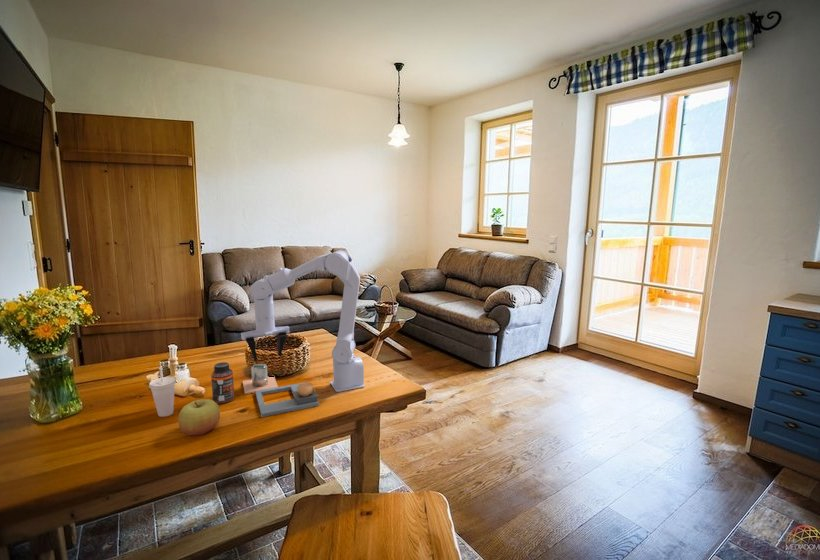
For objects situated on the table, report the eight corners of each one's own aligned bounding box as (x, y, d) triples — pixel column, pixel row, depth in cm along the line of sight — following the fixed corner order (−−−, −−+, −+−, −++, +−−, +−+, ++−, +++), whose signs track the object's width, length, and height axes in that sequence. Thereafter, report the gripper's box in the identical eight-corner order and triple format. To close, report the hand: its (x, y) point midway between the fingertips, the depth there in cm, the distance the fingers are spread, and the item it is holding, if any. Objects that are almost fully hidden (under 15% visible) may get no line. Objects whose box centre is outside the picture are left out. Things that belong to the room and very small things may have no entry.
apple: (179, 426, 108) (176, 398, 107) (219, 417, 113) (217, 390, 111) (179, 444, 100) (176, 414, 98) (223, 434, 104) (220, 405, 103)
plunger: (311, 392, 124) (310, 381, 124) (314, 398, 121) (314, 387, 120) (296, 395, 122) (296, 384, 122) (299, 401, 119) (299, 390, 118)
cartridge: (269, 380, 135) (268, 362, 134) (265, 387, 130) (263, 367, 129) (255, 380, 135) (254, 362, 134) (250, 387, 130) (248, 367, 129)
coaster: (273, 377, 140) (273, 375, 139) (278, 388, 131) (278, 387, 131) (242, 382, 135) (242, 380, 135) (245, 394, 126) (244, 392, 126)
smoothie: (151, 421, 110) (145, 372, 108) (153, 411, 116) (148, 364, 114) (178, 416, 113) (173, 368, 111) (179, 406, 119) (174, 360, 116)
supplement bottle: (226, 405, 119) (223, 369, 117) (208, 403, 121) (205, 367, 119) (238, 396, 125) (236, 361, 123) (221, 394, 126) (218, 360, 124)
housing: (307, 384, 134) (306, 377, 133) (318, 405, 120) (318, 397, 119) (255, 394, 127) (255, 386, 126) (261, 417, 113) (261, 408, 112)
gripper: (242, 322, 122) (245, 365, 124) (291, 316, 129) (293, 357, 131) (238, 317, 128) (242, 358, 130) (285, 311, 135) (287, 350, 137)
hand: (267, 357), depth 131 cm, fingers open, 7 cm apart
